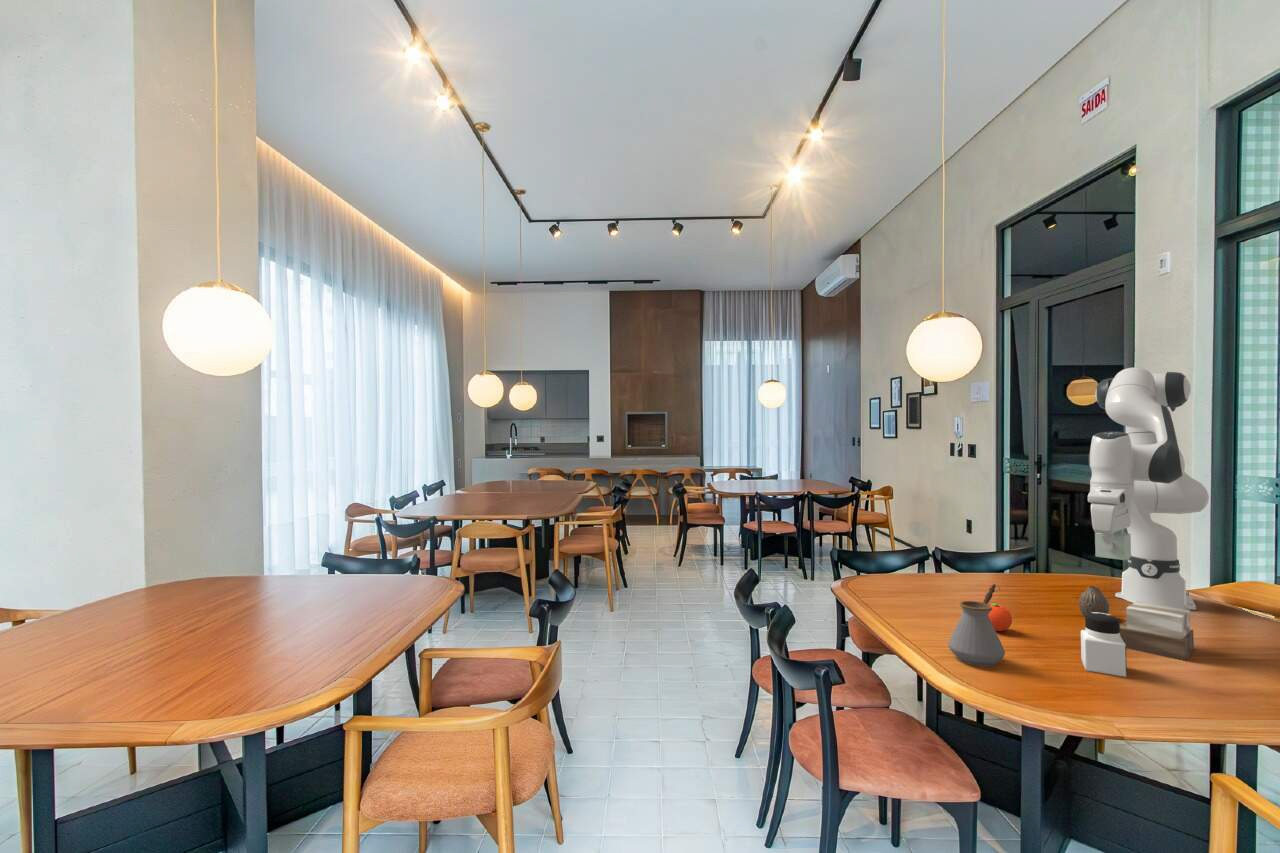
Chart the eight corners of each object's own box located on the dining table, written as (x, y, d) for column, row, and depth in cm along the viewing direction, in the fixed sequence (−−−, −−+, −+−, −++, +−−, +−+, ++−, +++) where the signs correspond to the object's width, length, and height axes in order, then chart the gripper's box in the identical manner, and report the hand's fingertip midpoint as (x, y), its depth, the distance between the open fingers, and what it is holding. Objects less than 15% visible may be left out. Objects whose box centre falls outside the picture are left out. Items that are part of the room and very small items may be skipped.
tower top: (1137, 620, 146) (1136, 600, 146) (1190, 630, 138) (1190, 610, 138) (1126, 628, 140) (1126, 607, 140) (1181, 639, 132) (1181, 618, 132)
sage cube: (1101, 553, 151) (1101, 530, 151) (1131, 557, 147) (1130, 533, 147) (1095, 556, 148) (1094, 533, 148) (1125, 560, 143) (1124, 536, 143)
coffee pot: (996, 674, 124) (995, 605, 125) (940, 659, 133) (939, 595, 133) (1023, 649, 139) (1022, 587, 139) (971, 637, 147) (970, 579, 148)
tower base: (1130, 637, 148) (1129, 618, 148) (1193, 650, 139) (1193, 630, 139) (1118, 648, 141) (1118, 627, 141) (1185, 663, 131) (1184, 641, 131)
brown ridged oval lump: (1115, 622, 159) (1114, 590, 159) (1087, 620, 160) (1086, 589, 160) (1100, 614, 166) (1099, 584, 166) (1073, 613, 167) (1073, 583, 167)
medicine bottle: (1127, 677, 122) (1125, 621, 123) (1085, 670, 126) (1084, 616, 126) (1120, 666, 128) (1119, 613, 129) (1081, 660, 132) (1080, 608, 132)
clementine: (974, 625, 157) (974, 599, 157) (1000, 625, 157) (1000, 599, 157) (990, 635, 149) (990, 607, 149) (1018, 635, 149) (1017, 608, 149)
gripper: (1107, 491, 156) (1108, 541, 156) (1085, 495, 144) (1086, 550, 143) (1137, 492, 151) (1138, 544, 151) (1117, 497, 139) (1118, 554, 138)
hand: (1113, 547), depth 147 cm, fingers closed on sage cube, 6 cm apart
